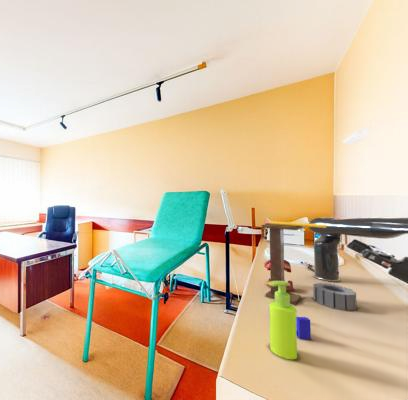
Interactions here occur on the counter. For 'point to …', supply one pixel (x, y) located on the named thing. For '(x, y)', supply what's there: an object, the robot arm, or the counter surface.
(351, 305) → the grey segmented ring
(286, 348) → the soap dispenser
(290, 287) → the anatomical model
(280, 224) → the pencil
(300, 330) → the cable clip
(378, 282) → the counter surface
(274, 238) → the brown pedestal stand
